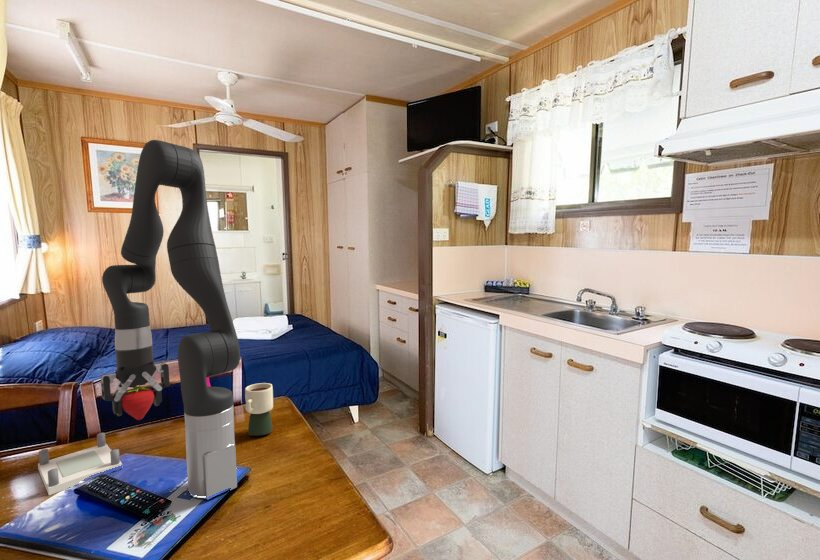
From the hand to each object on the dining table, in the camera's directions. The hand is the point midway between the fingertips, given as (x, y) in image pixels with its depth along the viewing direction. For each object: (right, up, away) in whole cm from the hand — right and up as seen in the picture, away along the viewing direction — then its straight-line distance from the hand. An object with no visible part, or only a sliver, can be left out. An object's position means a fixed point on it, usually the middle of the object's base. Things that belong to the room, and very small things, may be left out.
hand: (138, 409), depth 99 cm
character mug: (+27, -10, +10) cm, 30 cm away
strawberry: (0, -3, 0) cm, 3 cm away
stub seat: (-8, -11, -8) cm, 16 cm away
